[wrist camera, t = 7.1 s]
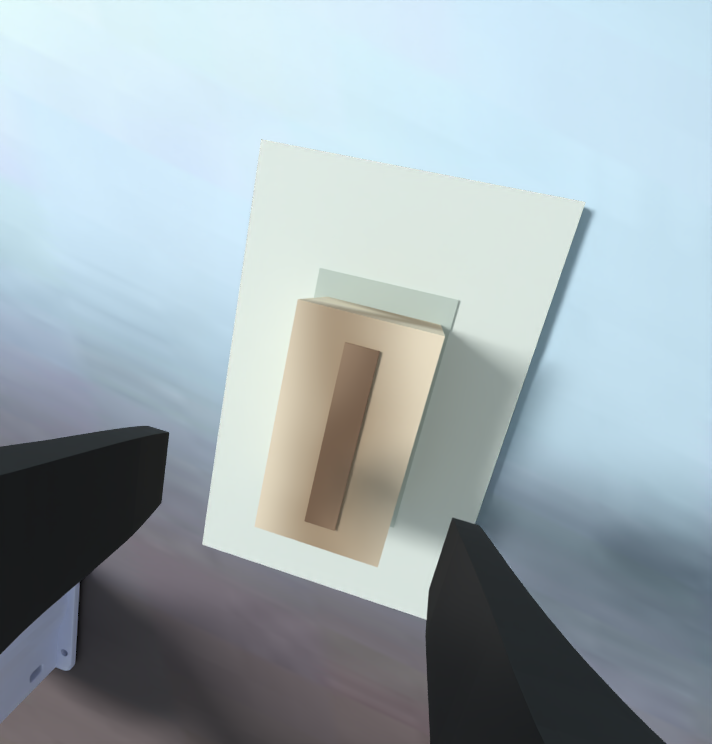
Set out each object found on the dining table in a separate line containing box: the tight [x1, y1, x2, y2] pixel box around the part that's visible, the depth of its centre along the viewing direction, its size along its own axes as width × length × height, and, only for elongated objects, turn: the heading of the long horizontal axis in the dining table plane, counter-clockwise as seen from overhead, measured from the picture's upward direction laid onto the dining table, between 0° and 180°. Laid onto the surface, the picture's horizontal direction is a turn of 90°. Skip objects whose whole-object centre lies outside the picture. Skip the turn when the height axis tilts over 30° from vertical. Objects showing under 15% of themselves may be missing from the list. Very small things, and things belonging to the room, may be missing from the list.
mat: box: [202, 139, 585, 620], centre depth 18 cm, size 20×13×1 cm, turn 167°
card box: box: [254, 297, 445, 567], centre depth 16 cm, size 5×9×4 cm, turn 167°
